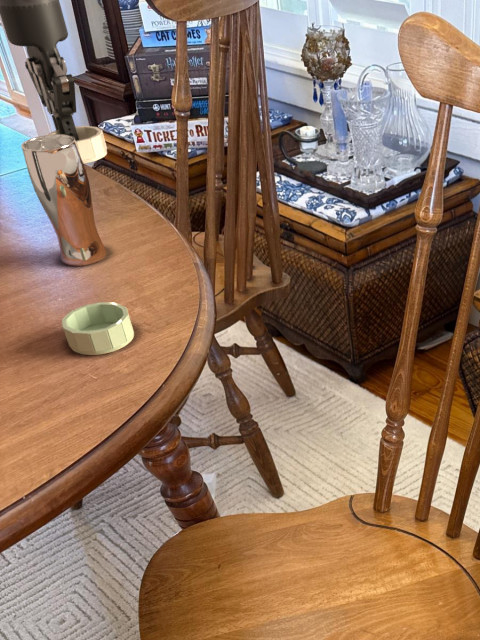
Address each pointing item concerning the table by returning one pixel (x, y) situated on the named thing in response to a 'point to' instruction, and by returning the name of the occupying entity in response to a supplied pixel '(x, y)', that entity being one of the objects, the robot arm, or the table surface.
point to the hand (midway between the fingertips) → (69, 143)
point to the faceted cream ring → (89, 143)
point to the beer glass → (65, 196)
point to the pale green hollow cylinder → (98, 328)
